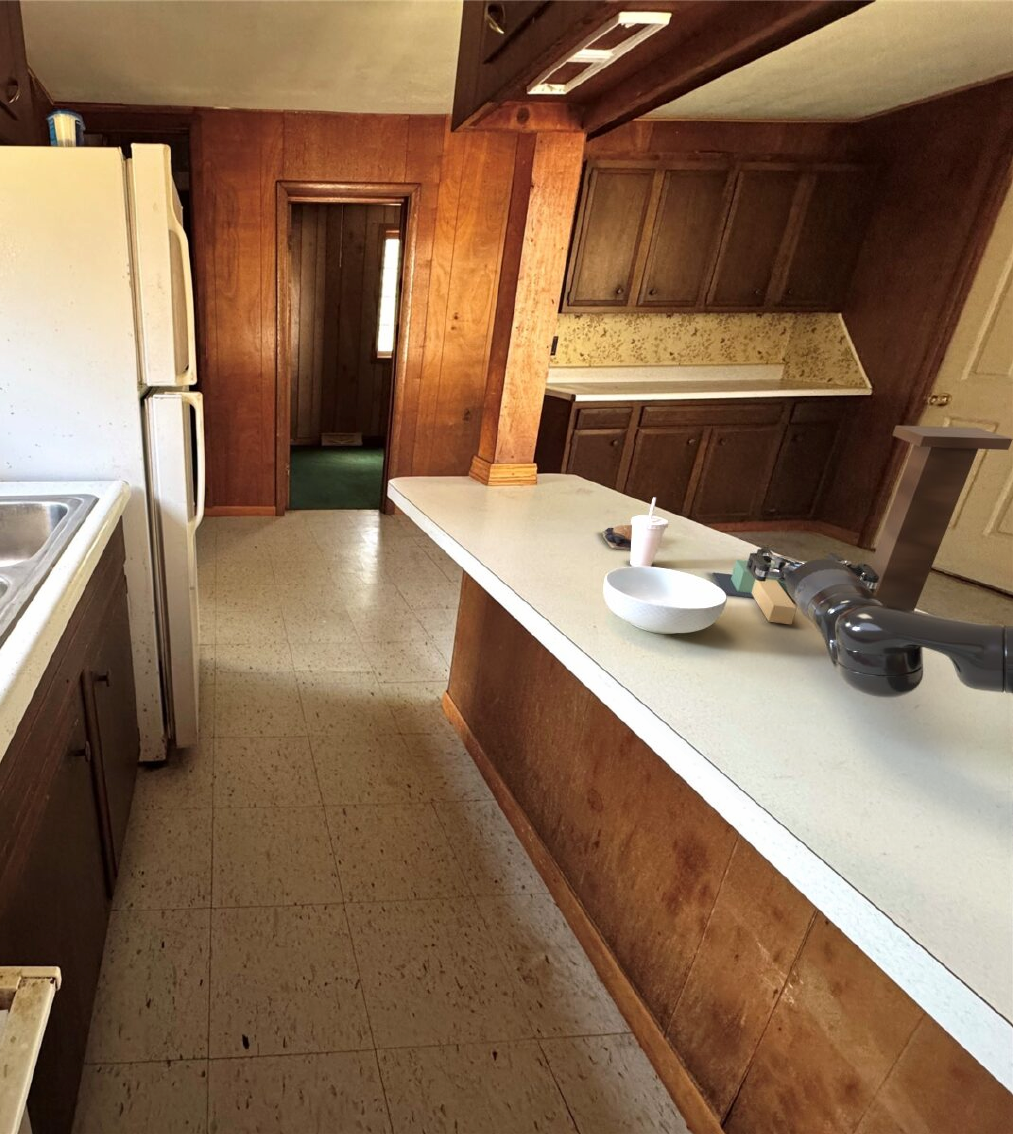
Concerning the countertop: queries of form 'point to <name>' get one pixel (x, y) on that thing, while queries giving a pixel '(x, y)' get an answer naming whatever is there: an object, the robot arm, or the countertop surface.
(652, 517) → the smoothie
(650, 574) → the cereal bowl
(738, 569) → the two-tone toy blocks
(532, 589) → the countertop surface
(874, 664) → the robot arm
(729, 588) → the slate mat
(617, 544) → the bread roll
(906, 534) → the walnut stand
